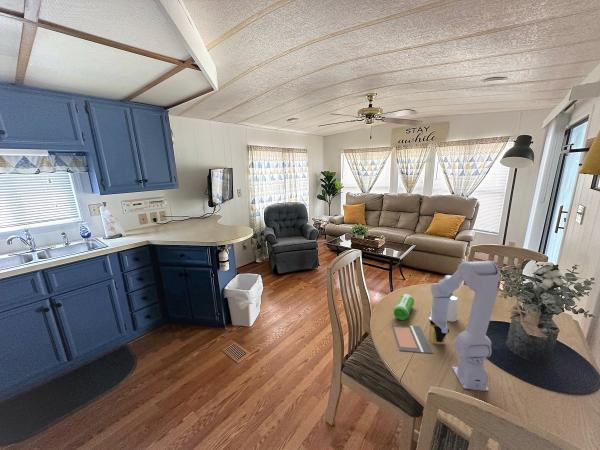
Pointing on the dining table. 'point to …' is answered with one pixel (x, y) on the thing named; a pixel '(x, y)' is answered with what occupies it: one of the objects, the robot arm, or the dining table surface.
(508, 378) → the dining table surface
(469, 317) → the robot arm
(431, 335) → the block
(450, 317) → the can
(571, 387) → the dining table surface
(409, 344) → the mat
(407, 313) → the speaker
